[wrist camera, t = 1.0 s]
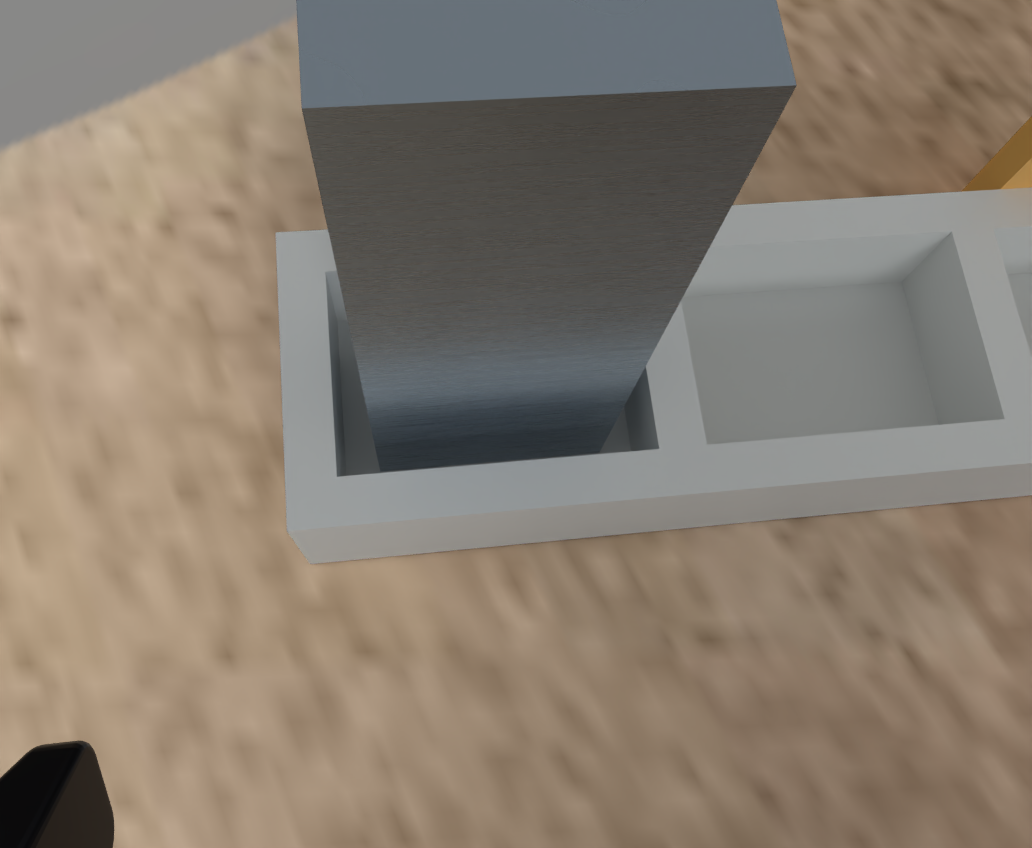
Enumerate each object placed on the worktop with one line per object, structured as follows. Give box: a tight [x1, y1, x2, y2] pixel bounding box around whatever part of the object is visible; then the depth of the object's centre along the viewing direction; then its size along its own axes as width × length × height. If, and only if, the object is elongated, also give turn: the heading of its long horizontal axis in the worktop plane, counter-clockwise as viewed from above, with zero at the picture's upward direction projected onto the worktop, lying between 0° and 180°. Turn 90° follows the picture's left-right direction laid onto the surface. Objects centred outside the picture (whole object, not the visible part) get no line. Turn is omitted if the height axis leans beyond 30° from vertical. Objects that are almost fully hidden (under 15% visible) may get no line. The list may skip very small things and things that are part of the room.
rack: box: [276, 116, 1032, 564], centre depth 22 cm, size 7×24×6 cm, turn 96°
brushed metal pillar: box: [296, 0, 796, 471], centre depth 16 cm, size 3×5×13 cm, turn 96°
